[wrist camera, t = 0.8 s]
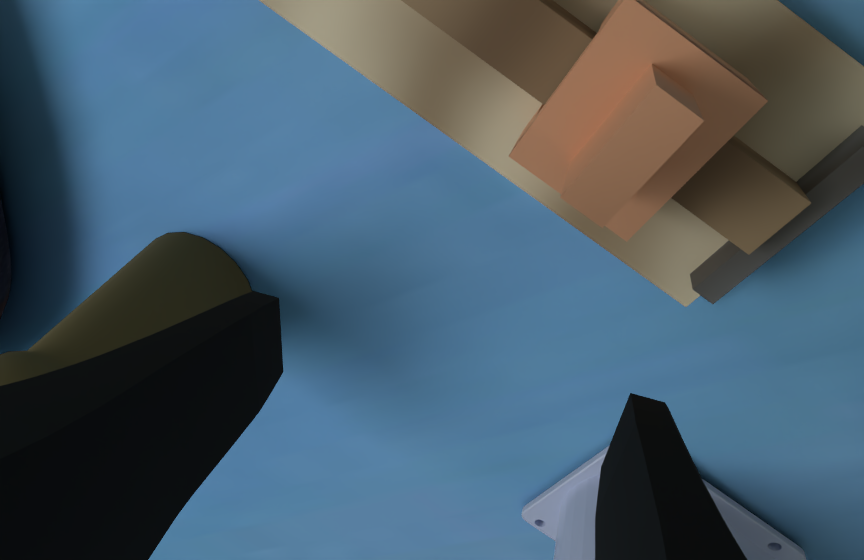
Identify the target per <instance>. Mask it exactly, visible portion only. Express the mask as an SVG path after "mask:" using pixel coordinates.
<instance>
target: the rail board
mask: <svg viewBox="0 0 864 560" xmlns="http://www.w3.org/2000/svg"><path fill="white" fill-rule="evenodd" d="M259 1H261V2H262V3H263V4H265V5H266V6H268V7H269V8H270V9H272V10H273V11H275V12H276V13H277V14H279V15H280V16H282V17H283V18H284V19H286V20H287V21H289V22H290V23H291V24H293V25H294V26H295V27H297V28H298V29H300V30H301V31H302V32H304V33H305V34H307V35H308V36H309V37H311V38H312V39H314V40H315V41H316V42H318V43H319V44H321V45H322V46H323V47H325V48H326V49H327V50H329V51H330V52H332V53H333V54H334V55H336V56H337V57H339V58H340V59H341V60H343V61H344V62H346V63H347V64H348V65H350V66H351V67H353V68H354V69H355V70H357V71H358V72H359V73H361V74H362V75H364V76H365V77H366V78H368V79H369V80H371V81H372V82H373V83H375V84H376V85H378V86H379V87H380V88H382V89H383V90H384V91H386V92H387V93H389V94H390V95H391V96H393V97H394V98H396V99H397V100H398V101H400V102H401V103H403V104H404V105H405V106H407V107H408V108H410V109H411V110H412V111H414V112H415V113H416V114H418V115H419V116H421V117H422V118H423V119H425V120H426V121H428V122H429V123H430V124H432V125H433V126H435V127H436V128H437V129H439V130H440V131H442V132H443V133H444V134H446V135H447V136H448V137H450V138H451V139H453V140H454V141H455V142H457V143H458V144H460V145H461V146H462V147H464V148H465V149H467V150H468V151H469V152H471V153H472V154H473V155H475V156H476V157H478V158H479V159H480V160H482V161H483V162H485V163H486V164H487V165H489V166H490V167H492V168H493V169H494V170H496V171H497V172H499V173H500V174H501V175H503V176H504V177H505V178H507V179H508V180H510V181H511V182H512V183H514V184H515V185H517V186H518V187H519V188H521V189H522V190H524V191H525V192H526V193H528V194H529V195H531V196H532V197H533V198H535V199H536V200H537V201H539V202H540V203H542V204H543V205H544V206H546V207H547V208H549V209H550V210H551V211H553V212H554V213H556V214H557V215H558V216H560V217H561V218H563V219H564V220H565V221H567V222H568V223H569V224H571V225H572V226H574V227H575V228H576V229H578V230H579V231H581V232H582V233H583V234H585V235H586V236H588V237H589V238H590V239H592V240H593V241H594V242H596V243H597V244H599V245H600V246H601V247H603V248H604V249H606V250H607V251H608V252H610V253H611V254H613V255H614V256H615V257H617V258H618V259H620V260H621V261H622V262H624V263H625V264H626V265H628V266H629V267H631V268H632V269H633V270H635V271H636V272H638V273H639V274H640V275H642V276H643V277H645V278H646V279H647V280H649V281H650V282H652V283H653V284H654V285H656V286H657V287H658V288H660V289H661V290H663V291H664V292H665V293H667V294H668V295H670V296H671V297H672V298H674V299H675V300H677V301H678V302H679V303H681V304H682V305H683V306H685V307H687V306H688V305H689V304H690V303H692V302H693V301H694V300H695V299H696V298H698V297H699V296H700V295H701V296H702V297H704V298H705V299H706V300H708V301H709V302H710V303H712V304H714V303H715V302H716V301H718V300H719V299H720V298H721V297H723V296H724V295H725V294H726V293H728V292H729V291H730V290H731V289H733V288H734V287H735V286H736V285H738V284H739V283H740V282H741V281H743V280H744V279H745V278H746V277H748V276H749V275H750V274H751V273H753V272H754V271H755V270H756V269H758V268H759V267H760V266H761V265H763V264H764V263H765V262H766V261H768V260H769V259H770V258H771V257H773V256H774V255H775V254H776V253H778V252H779V251H780V250H781V249H783V248H784V247H785V246H786V245H788V244H789V243H790V242H791V241H793V240H794V239H795V238H796V237H798V236H799V235H800V234H801V233H803V232H804V231H805V230H806V229H807V228H809V227H810V226H811V225H812V224H814V223H815V222H816V221H817V220H819V219H820V218H821V217H822V216H824V215H825V214H826V213H827V212H829V211H830V210H831V209H832V208H834V207H835V206H836V205H837V204H839V203H840V202H841V201H842V200H844V199H845V198H846V197H847V196H849V195H850V194H851V193H852V192H854V191H855V190H856V189H857V188H859V187H860V186H861V185H862V184H864V66H863V65H861V64H860V63H859V62H857V61H856V60H855V59H853V58H852V57H851V56H850V55H848V54H847V53H846V52H844V51H843V50H842V49H840V48H839V47H838V46H836V45H835V44H834V43H833V42H831V41H830V40H829V39H827V38H826V37H825V36H823V35H822V34H821V33H820V32H818V31H817V30H816V29H814V28H813V27H812V26H810V25H809V24H808V23H807V22H805V21H804V20H803V19H801V18H800V17H799V16H797V15H796V14H795V13H794V12H792V11H791V10H790V9H788V8H787V7H786V6H784V5H783V4H782V3H781V2H779V1H778V0H644V1H646V2H647V3H648V4H650V5H651V6H652V7H654V8H655V9H656V10H658V11H659V12H660V13H662V14H663V15H664V16H665V17H667V18H668V19H669V20H671V21H672V22H673V23H675V24H676V25H677V26H679V27H680V28H681V29H683V30H684V31H685V32H687V33H688V34H689V35H691V36H692V37H693V38H695V39H696V40H697V41H699V42H700V43H701V44H703V45H704V46H705V47H707V48H708V49H709V50H711V51H712V52H713V53H714V54H716V55H717V56H718V57H720V58H721V59H722V60H724V61H725V62H726V63H728V64H729V65H730V66H732V67H733V68H734V69H736V70H737V71H738V72H740V73H741V74H742V75H744V76H745V77H746V78H748V79H749V81H750V82H751V83H752V84H753V85H754V86H755V87H756V88H757V89H758V90H759V91H760V92H761V94H762V95H763V96H764V97H765V98H766V99H767V100H768V102H767V103H766V104H765V105H764V106H763V107H762V108H761V109H760V110H759V111H758V112H757V113H756V114H755V115H754V116H753V117H752V118H751V119H750V120H749V121H748V122H747V123H746V124H745V125H744V126H743V127H742V128H741V129H740V130H739V131H738V132H737V133H736V134H735V135H734V136H733V137H732V138H731V139H730V140H729V141H728V142H727V143H726V144H725V145H724V146H722V147H721V148H720V149H719V150H718V151H717V152H716V153H715V154H714V155H713V156H712V157H711V158H710V159H709V160H708V161H707V162H706V163H705V164H704V165H703V166H702V167H701V168H700V169H699V170H698V171H697V172H696V173H695V174H694V175H693V176H692V177H691V178H690V179H689V180H688V181H687V182H686V183H685V184H684V185H683V186H682V187H681V188H680V189H679V190H678V191H677V192H676V193H675V194H674V195H673V196H672V197H671V198H670V199H669V200H668V201H667V202H666V203H665V204H664V205H663V206H662V207H661V208H660V209H659V210H658V211H657V212H656V213H655V214H654V215H653V216H652V217H651V218H650V219H649V220H648V221H647V222H646V223H645V224H644V225H643V226H642V227H641V228H640V229H639V230H638V231H637V232H636V233H635V234H634V235H633V236H632V237H631V238H630V239H629V240H628V241H627V242H626V241H625V240H624V239H622V238H621V237H619V236H618V235H617V234H615V233H614V232H613V231H611V230H610V229H608V228H607V227H606V226H604V227H603V228H602V227H600V226H599V225H597V224H596V223H595V222H593V221H592V220H590V219H589V218H588V217H586V216H585V215H584V214H582V213H581V212H579V211H578V210H577V209H575V208H574V207H572V206H571V205H570V204H568V203H567V202H566V201H564V200H563V199H561V198H560V196H561V194H560V193H559V192H557V191H556V190H554V189H553V188H552V187H550V186H549V185H547V184H546V183H545V182H543V181H542V180H541V179H539V178H538V177H536V176H535V175H534V174H532V173H531V172H529V171H528V170H527V169H525V168H524V167H522V166H521V165H520V164H518V163H517V162H516V161H514V160H513V159H511V158H510V157H509V154H510V153H511V151H512V149H513V147H514V146H515V144H516V142H517V140H518V138H519V137H520V135H521V133H522V131H523V130H524V128H525V127H526V126H527V124H528V123H529V121H530V120H531V119H532V117H533V116H534V115H535V113H536V112H537V111H538V109H539V108H540V106H541V105H542V104H543V105H545V103H546V102H547V101H548V99H549V98H550V97H551V95H552V94H553V92H554V91H555V90H556V88H557V87H558V86H559V84H560V83H561V82H562V80H563V79H564V77H565V76H566V75H567V73H568V72H569V71H570V69H571V68H572V67H573V65H574V64H575V63H576V61H577V60H578V58H579V57H580V56H581V54H582V53H583V52H584V50H585V49H586V48H587V46H588V45H589V43H590V42H591V41H592V39H593V38H594V37H595V35H596V34H597V33H598V31H599V29H600V26H601V23H602V22H603V20H604V19H605V18H606V16H607V15H608V13H609V12H610V11H611V9H612V8H613V7H614V5H615V4H616V3H617V1H618V0H259Z"/></svg>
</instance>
